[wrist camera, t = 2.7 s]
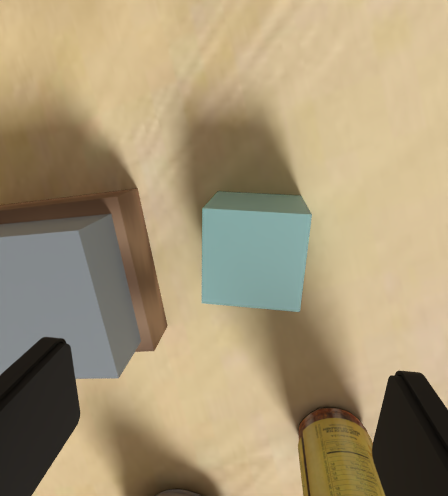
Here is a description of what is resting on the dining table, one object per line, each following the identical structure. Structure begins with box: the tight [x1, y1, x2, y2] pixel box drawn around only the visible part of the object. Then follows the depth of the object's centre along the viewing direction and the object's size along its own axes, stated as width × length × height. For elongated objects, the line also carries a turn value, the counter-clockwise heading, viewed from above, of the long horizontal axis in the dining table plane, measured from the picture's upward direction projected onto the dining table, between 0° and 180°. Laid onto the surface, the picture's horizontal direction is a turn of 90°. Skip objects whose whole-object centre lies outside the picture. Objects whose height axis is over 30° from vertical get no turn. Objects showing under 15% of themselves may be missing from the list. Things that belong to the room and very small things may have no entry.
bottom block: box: [0, 188, 167, 352], centre depth 26 cm, size 12×12×4 cm
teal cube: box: [202, 191, 312, 312], centre depth 21 cm, size 6×6×6 cm
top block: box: [0, 214, 141, 379], centre depth 22 cm, size 10×10×4 cm
